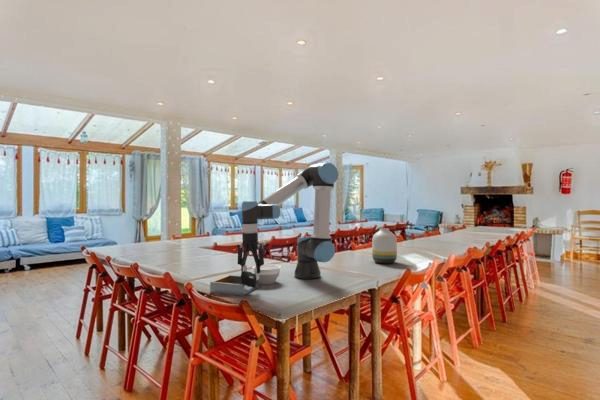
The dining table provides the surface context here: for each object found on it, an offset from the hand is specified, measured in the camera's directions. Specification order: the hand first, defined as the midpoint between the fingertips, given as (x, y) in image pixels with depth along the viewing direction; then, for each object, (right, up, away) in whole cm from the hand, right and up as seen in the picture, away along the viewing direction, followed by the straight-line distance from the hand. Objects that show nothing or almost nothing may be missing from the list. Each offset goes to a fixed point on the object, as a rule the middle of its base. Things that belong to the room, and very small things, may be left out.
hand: (251, 279), depth 170 cm
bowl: (+6, -6, +17) cm, 19 cm away
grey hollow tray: (-8, -6, +2) cm, 10 cm away
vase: (+84, -6, +75) cm, 112 cm away
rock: (-2, -2, -1) cm, 3 cm away
